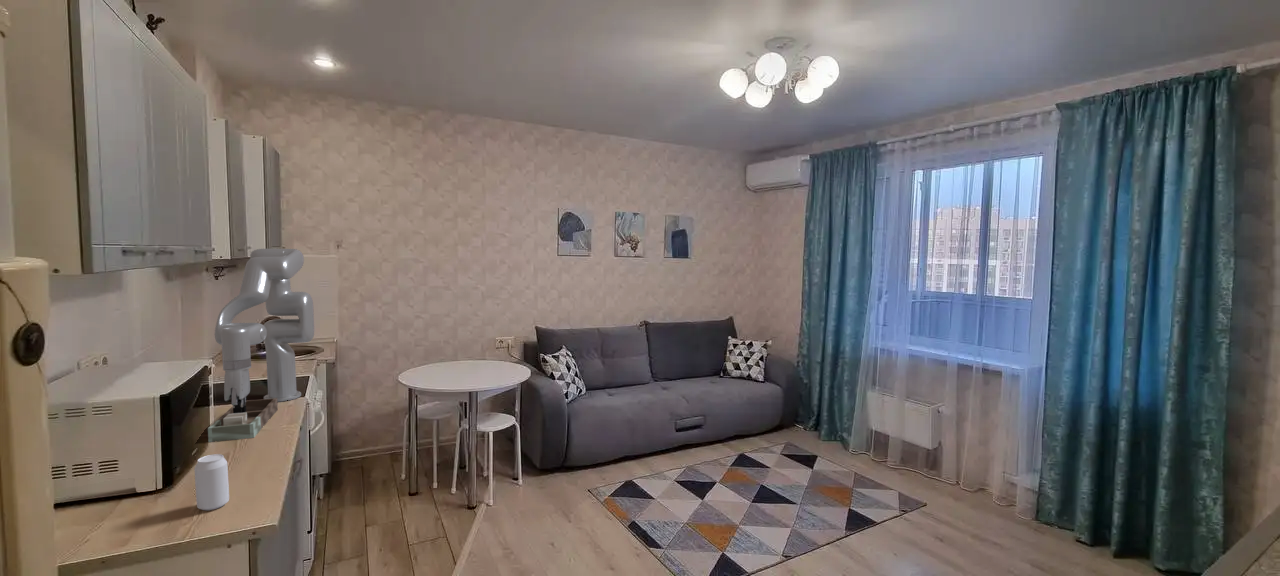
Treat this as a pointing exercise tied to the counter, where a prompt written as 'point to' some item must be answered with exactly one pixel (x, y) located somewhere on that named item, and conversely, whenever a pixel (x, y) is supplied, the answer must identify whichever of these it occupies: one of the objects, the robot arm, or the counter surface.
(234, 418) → the block
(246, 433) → the box
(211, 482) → the beverage can
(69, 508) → the counter surface
